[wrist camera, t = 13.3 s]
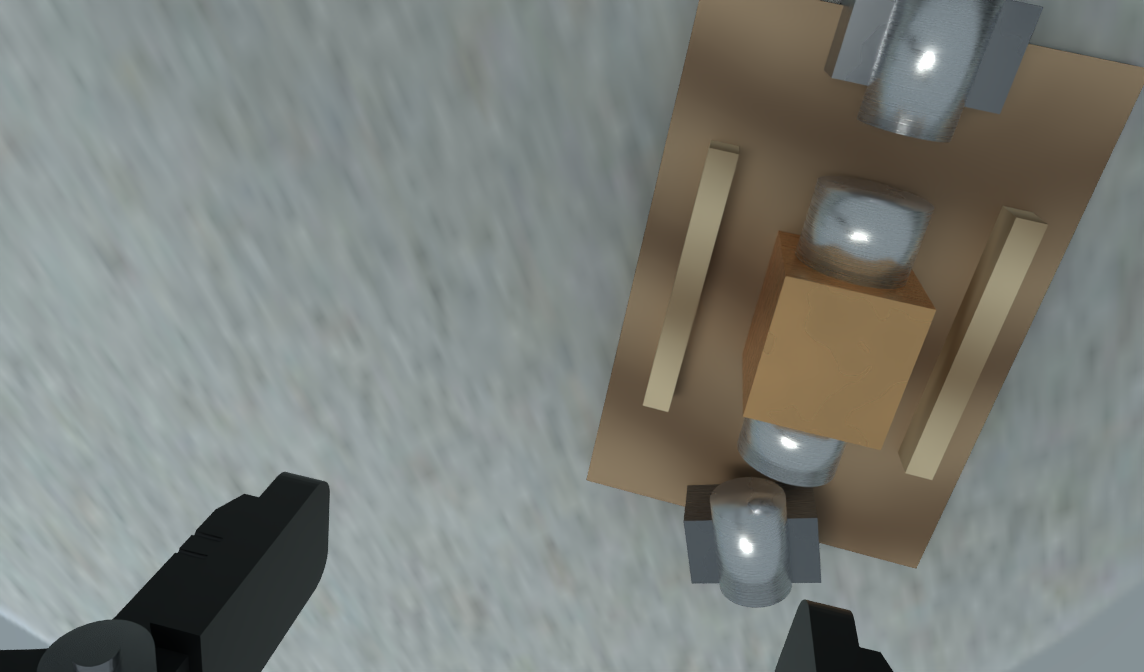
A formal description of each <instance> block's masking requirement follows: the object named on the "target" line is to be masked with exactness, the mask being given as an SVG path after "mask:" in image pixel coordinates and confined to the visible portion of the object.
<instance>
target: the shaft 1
mask: <svg viewBox="0 0 1144 672" xmlns="http://www.w3.org/2000/svg"><path fill="white" fill-rule="evenodd" d="M684 527H685V535H686V542H687V550H688V558H689V566H690V573H691V581H692V583H719V585H720V589H721V591H722V593H723V594H724V596H725V597H726V598H728V599H729V600H730V601H732V602H734V603H736V604H739V605H742V606H746V607H766V606H771V605H774V604H776V603H778V602H780V601H782V600H783V599H784V598H786V596H787V595H788V594H789V593H790V591H791V588H792V583H821V571H820V553H819V536H818V518H817V511H816V504H815V498H814V491H813V487H802V486H795V485H790V484H786V483H783V482H772V481H770V480H767V479H763V478H757V477H742V478H736V479H732V480H728V481H726V482H724V483H722V484H713V485H687V494H686V504H685V514H684Z"/></svg>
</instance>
